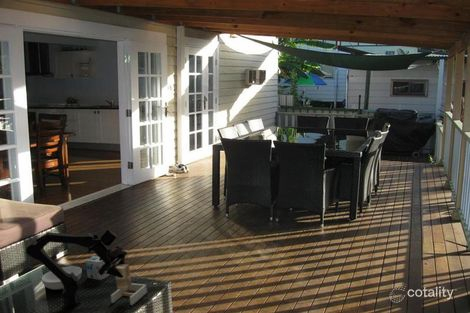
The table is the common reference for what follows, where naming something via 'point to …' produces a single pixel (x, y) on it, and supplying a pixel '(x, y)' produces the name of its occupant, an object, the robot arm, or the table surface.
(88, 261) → the light bulb box
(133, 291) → the trap trough
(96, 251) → the robot arm
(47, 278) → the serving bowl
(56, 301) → the table surface
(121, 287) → the maple block
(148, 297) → the table surface
